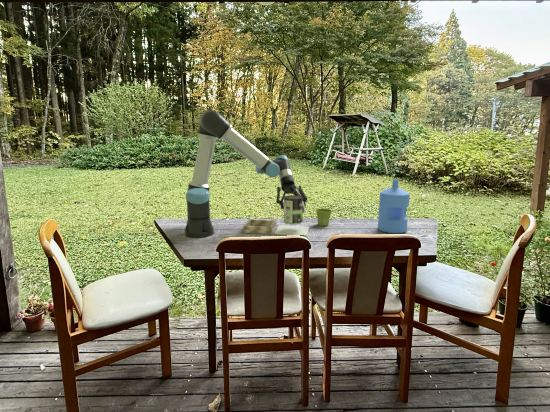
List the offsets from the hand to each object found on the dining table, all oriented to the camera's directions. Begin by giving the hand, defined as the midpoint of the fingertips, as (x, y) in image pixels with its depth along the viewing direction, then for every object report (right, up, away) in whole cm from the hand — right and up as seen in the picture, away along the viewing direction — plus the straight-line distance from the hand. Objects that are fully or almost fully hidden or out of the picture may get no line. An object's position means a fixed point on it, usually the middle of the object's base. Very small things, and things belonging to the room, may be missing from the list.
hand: (295, 212), depth 205 cm
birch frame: (-19, -9, +8) cm, 22 cm away
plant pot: (+17, -7, +18) cm, 26 cm away
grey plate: (-1, -10, +5) cm, 11 cm away
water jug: (+54, -10, +8) cm, 56 cm away
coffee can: (-1, -5, +4) cm, 7 cm away
